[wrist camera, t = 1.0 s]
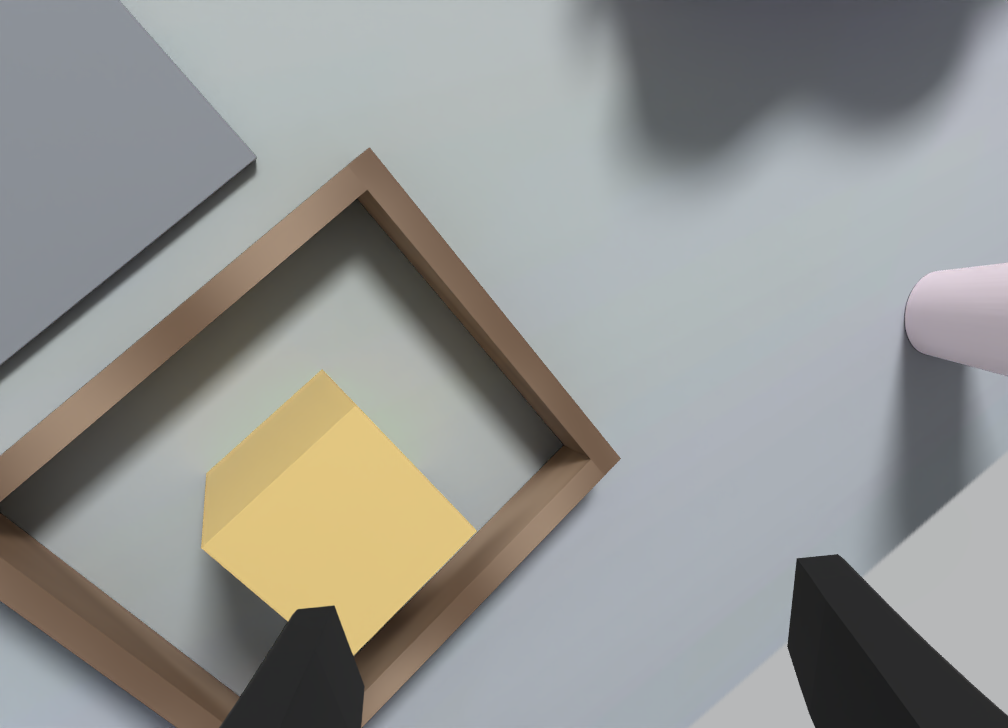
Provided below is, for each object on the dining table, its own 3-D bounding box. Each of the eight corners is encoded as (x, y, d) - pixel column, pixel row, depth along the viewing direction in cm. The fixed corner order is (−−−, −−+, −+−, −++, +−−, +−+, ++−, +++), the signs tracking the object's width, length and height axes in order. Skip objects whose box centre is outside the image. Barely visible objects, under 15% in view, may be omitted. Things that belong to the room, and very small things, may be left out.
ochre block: (312, 568, 22) (341, 667, 17) (206, 472, 21) (201, 548, 15) (416, 467, 23) (477, 531, 18) (321, 369, 22) (355, 405, 16)
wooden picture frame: (281, 762, 23) (286, 806, 21) (-62, 507, 19) (-93, 533, 17) (591, 444, 26) (620, 458, 24) (356, 157, 21) (369, 147, 19)
